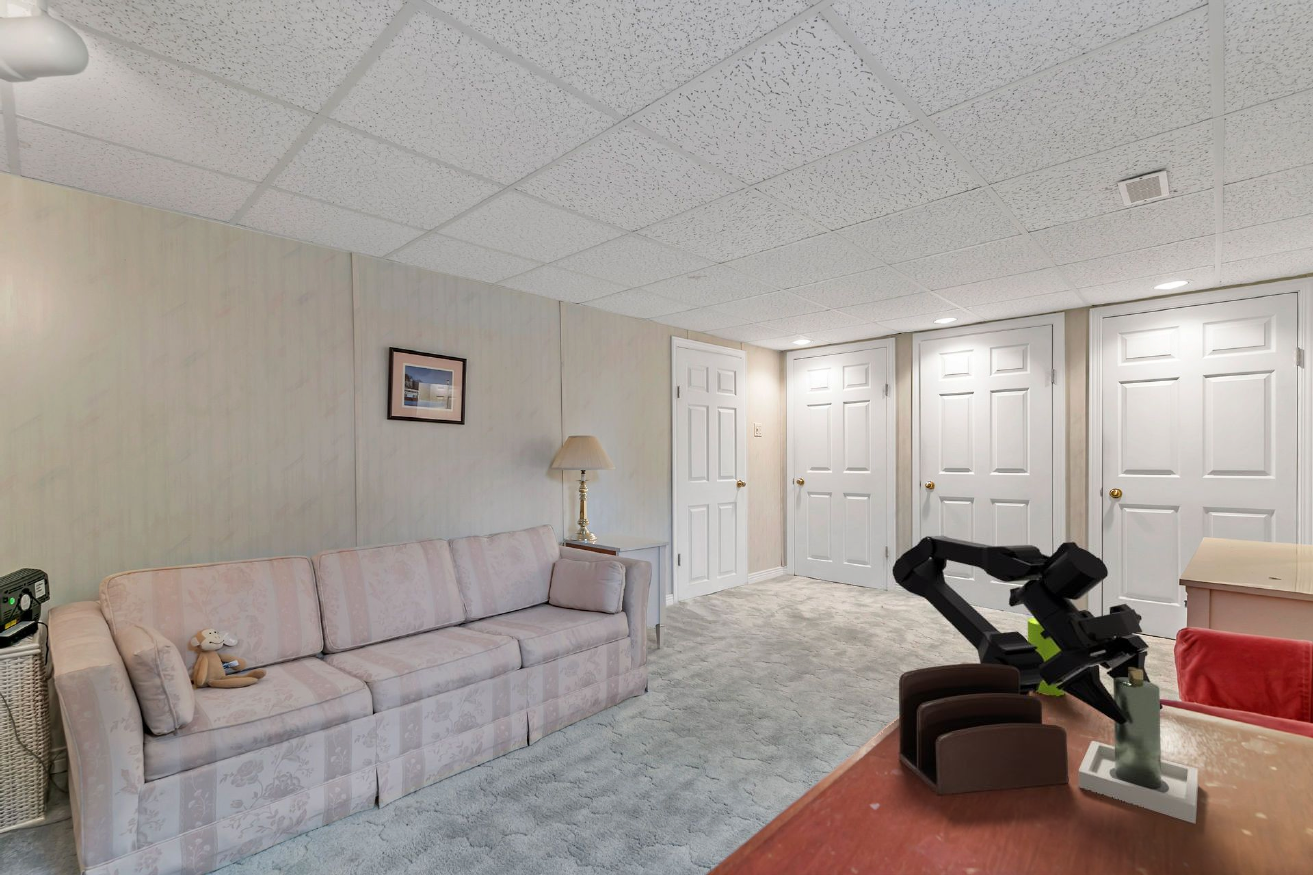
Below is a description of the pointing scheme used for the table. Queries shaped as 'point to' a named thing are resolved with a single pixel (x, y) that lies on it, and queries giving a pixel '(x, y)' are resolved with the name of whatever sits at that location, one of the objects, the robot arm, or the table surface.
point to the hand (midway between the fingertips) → (1142, 716)
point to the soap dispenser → (1043, 653)
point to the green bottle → (1138, 731)
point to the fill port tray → (1169, 799)
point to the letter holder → (977, 730)
